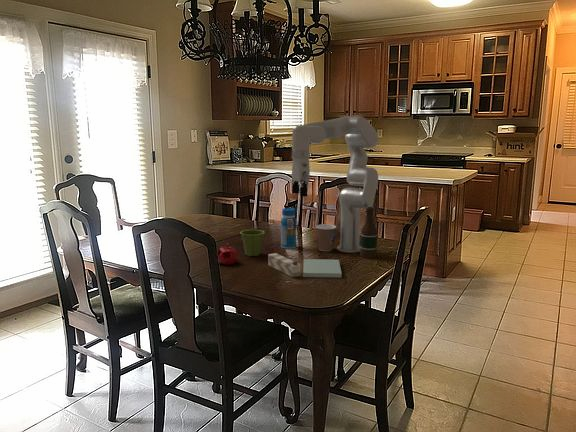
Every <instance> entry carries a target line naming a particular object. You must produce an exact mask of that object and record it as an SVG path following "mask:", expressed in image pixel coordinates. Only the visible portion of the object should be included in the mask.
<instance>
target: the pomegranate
mask: <svg viewBox="0 0 576 432" xmlns="http://www.w3.org/2000/svg"><path fill="white" fill-rule="evenodd" d="M233 247H236V245H235V246H234V245H232V246H230V244H229V243H226V245H223V246H221V247H219V249H218V250H217V252H216V254H217V253H218V259H219V262H218V263H220V264H221V265H222V264H223V265H227V266H229V265H234V264H235V263H237V262H238V260H239V253H238V251H237V250H236V249H235V248H233ZM218 259H217V260H218Z"/></svg>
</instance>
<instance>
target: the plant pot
mask: <svg viewBox="0 0 576 432" xmlns="http://www.w3.org/2000/svg"><path fill="white" fill-rule="evenodd" d="M239 233H240V235H241V239H242V243H243V248H244V254H245V255H246V256H247V257H257V256H260V255H261V253H262V252H261V251H262V246H263V245H262V244H263V238H264V234H265V231H264V230H261V229H245V230H241V231H240V232H239Z"/></svg>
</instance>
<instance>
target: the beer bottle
mask: <svg viewBox="0 0 576 432" xmlns="http://www.w3.org/2000/svg"><path fill="white" fill-rule="evenodd" d="M365 210H366V211H365V212H366V214H365V223H364V225H363V226H362V228H361V229H360V230H361V231H360V244H359V246H360V252H359V253H360V255H359V256H360V258H362V257H363V258H362V259H367V260H368V259H369V260H370V259H375V258H376V257H377V252H378V251H377V250H378V230H377V226H376V225H375V223H374V222H375V221H374V220H375V219H374V217H375V216H374V211H375V208H374V207H372V206H371V207H367V208H366V209H365Z"/></svg>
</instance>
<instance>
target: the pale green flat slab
mask: <svg viewBox="0 0 576 432" xmlns="http://www.w3.org/2000/svg"><path fill="white" fill-rule="evenodd" d="M302 268H303V273H302V276H303V278H340V279H342V277H343V276H342V275H343V273H342V269H341V264H340V260H339V259H325V258H324V259H313V258H312V259H310V258H307V259H305V258H303V267H302Z"/></svg>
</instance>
